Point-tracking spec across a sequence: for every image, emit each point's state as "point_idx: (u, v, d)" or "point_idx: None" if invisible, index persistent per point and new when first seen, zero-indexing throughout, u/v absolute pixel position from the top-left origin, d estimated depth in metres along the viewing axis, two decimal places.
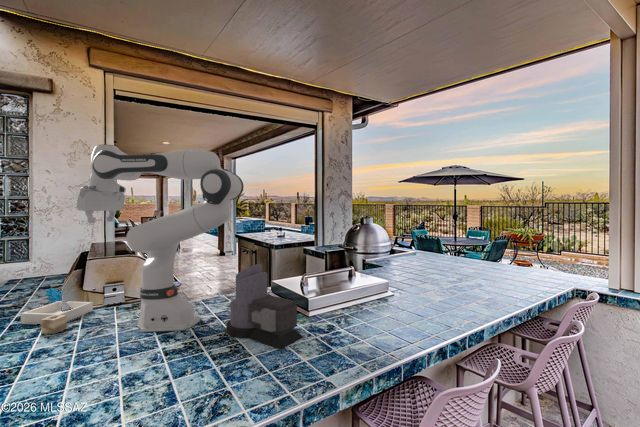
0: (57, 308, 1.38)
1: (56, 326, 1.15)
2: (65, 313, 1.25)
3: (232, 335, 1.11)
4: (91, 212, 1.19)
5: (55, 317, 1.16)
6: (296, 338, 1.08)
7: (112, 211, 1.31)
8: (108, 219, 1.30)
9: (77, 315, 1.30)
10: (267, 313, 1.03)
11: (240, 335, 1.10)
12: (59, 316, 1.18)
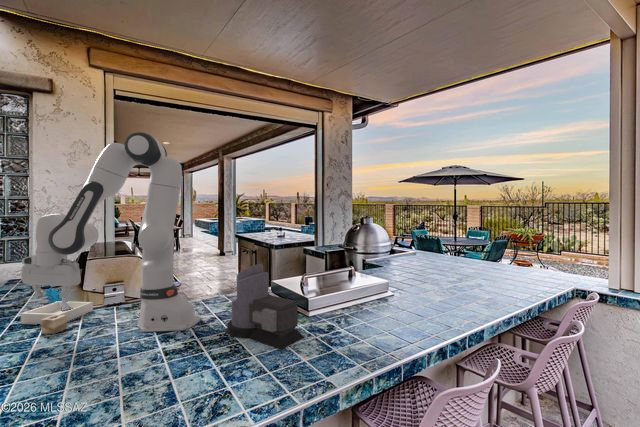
0: (57, 308, 1.38)
1: (56, 326, 1.15)
2: (65, 313, 1.25)
3: (233, 335, 1.11)
4: None
5: (55, 317, 1.16)
6: (297, 338, 1.08)
7: (39, 284, 1.17)
8: (41, 294, 1.17)
9: (77, 315, 1.30)
10: (268, 313, 1.03)
11: (241, 335, 1.10)
12: (59, 316, 1.18)
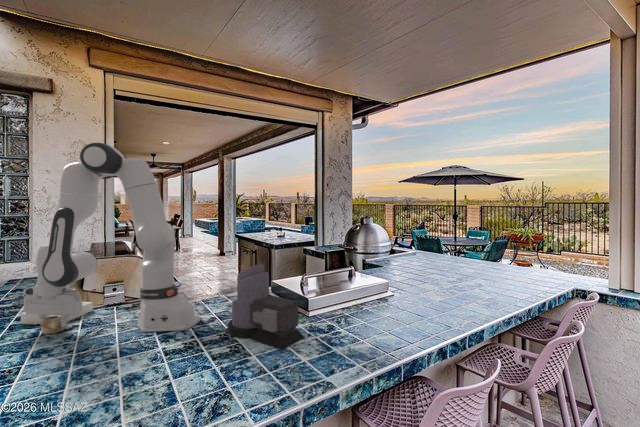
0: None
1: (56, 325, 1.15)
2: None
3: (233, 335, 1.11)
4: None
5: (55, 317, 1.16)
6: (297, 338, 1.08)
7: None
8: None
9: (77, 315, 1.30)
10: (268, 313, 1.03)
11: (241, 335, 1.10)
12: (59, 316, 1.18)
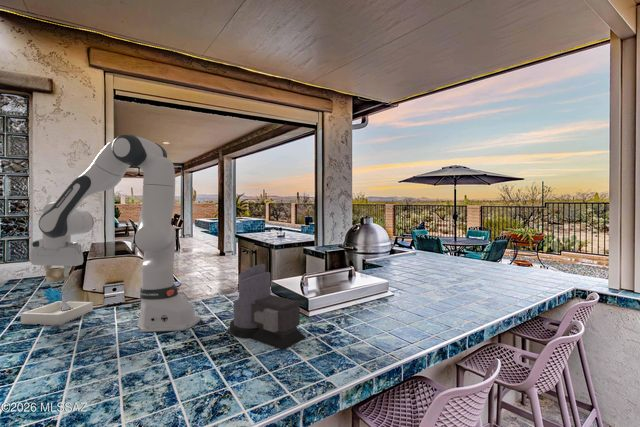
0: (57, 308, 1.38)
1: (60, 275, 1.29)
2: (65, 313, 1.25)
3: (235, 335, 1.11)
4: None
5: (59, 268, 1.30)
6: (299, 339, 1.07)
7: (50, 265, 1.31)
8: None
9: (77, 315, 1.30)
10: (269, 313, 1.03)
11: (242, 335, 1.10)
12: (62, 267, 1.31)
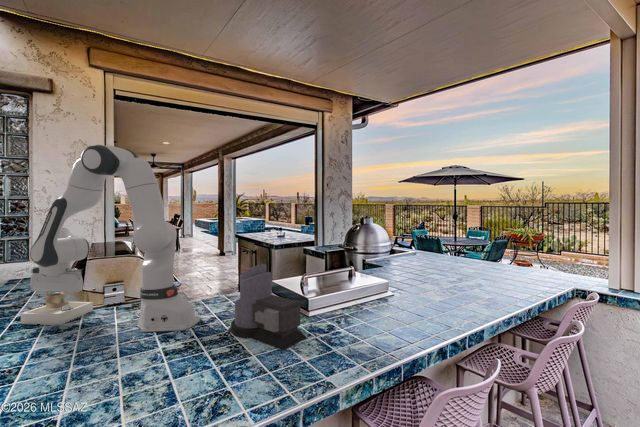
0: None
1: (60, 301, 1.29)
2: (65, 313, 1.25)
3: (236, 335, 1.11)
4: None
5: (59, 294, 1.30)
6: (299, 339, 1.07)
7: (50, 291, 1.31)
8: None
9: (77, 315, 1.30)
10: (270, 313, 1.03)
11: (243, 335, 1.10)
12: (62, 293, 1.31)
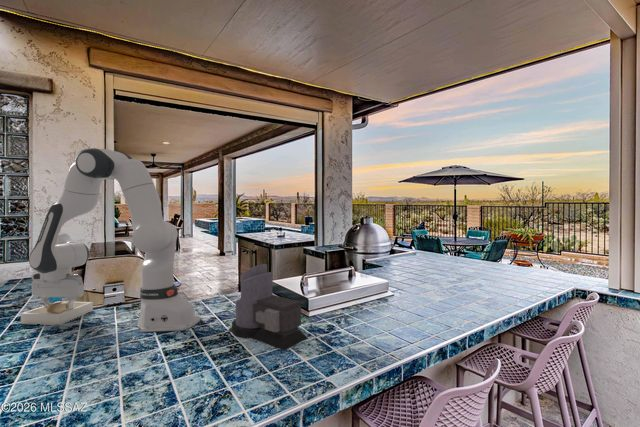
0: None
1: (61, 310, 1.29)
2: (65, 313, 1.25)
3: (237, 335, 1.11)
4: None
5: (60, 303, 1.30)
6: (300, 339, 1.07)
7: (47, 297, 1.31)
8: None
9: (77, 315, 1.30)
10: (271, 313, 1.03)
11: (244, 335, 1.10)
12: (63, 302, 1.31)
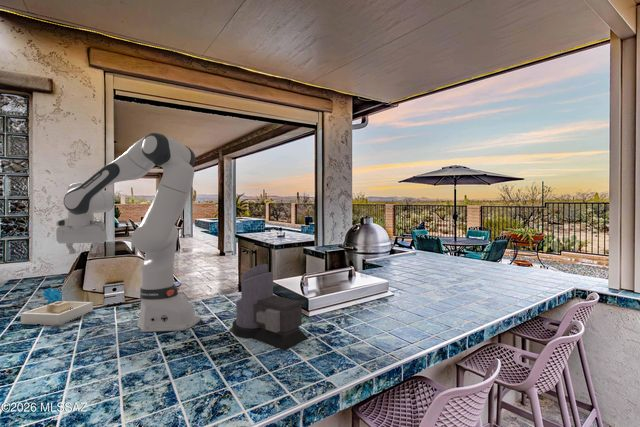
0: None
1: (61, 310, 1.29)
2: (65, 313, 1.25)
3: (237, 335, 1.11)
4: None
5: (60, 303, 1.30)
6: (301, 339, 1.07)
7: (72, 244, 1.38)
8: (73, 251, 1.37)
9: (77, 315, 1.30)
10: (271, 313, 1.03)
11: (245, 335, 1.10)
12: (63, 302, 1.31)
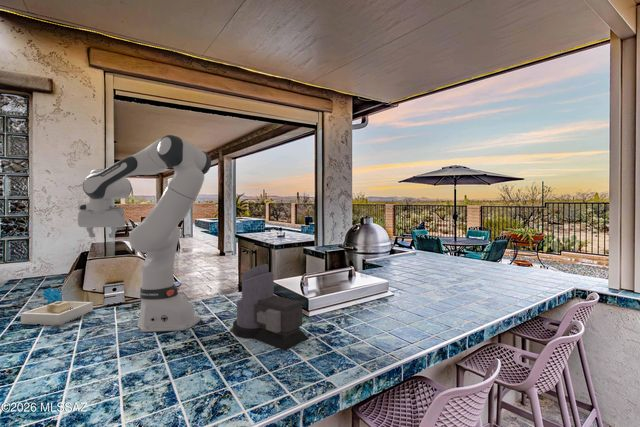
0: None
1: (61, 310, 1.29)
2: (65, 313, 1.25)
3: (238, 335, 1.11)
4: None
5: (60, 303, 1.30)
6: (301, 339, 1.07)
7: (92, 228, 1.44)
8: (93, 235, 1.43)
9: (77, 315, 1.30)
10: (272, 314, 1.02)
11: (245, 335, 1.10)
12: (63, 302, 1.31)
